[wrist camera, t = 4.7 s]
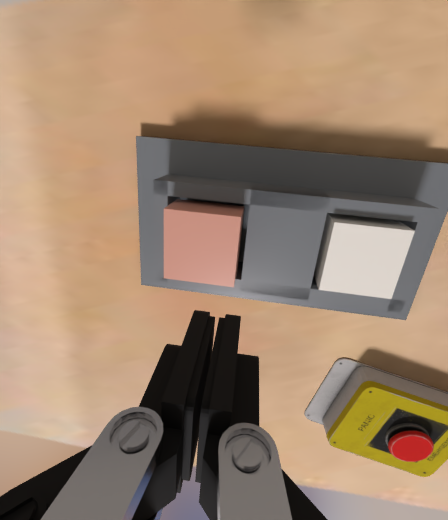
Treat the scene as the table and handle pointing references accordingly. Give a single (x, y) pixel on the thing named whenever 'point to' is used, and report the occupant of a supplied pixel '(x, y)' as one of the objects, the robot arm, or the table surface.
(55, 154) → the table surface
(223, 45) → the table surface
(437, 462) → the emergency button
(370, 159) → the key panel
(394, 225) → the cream key
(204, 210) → the terracotta key
